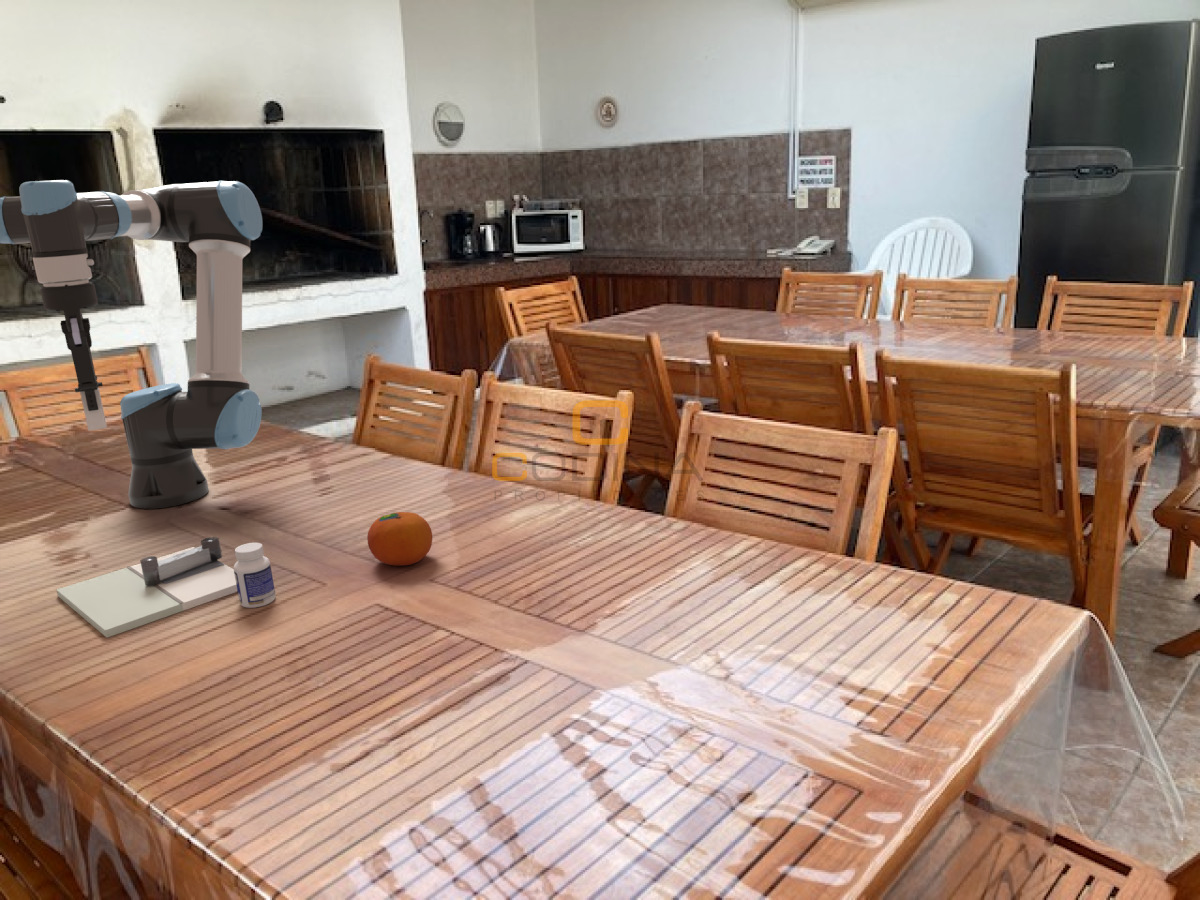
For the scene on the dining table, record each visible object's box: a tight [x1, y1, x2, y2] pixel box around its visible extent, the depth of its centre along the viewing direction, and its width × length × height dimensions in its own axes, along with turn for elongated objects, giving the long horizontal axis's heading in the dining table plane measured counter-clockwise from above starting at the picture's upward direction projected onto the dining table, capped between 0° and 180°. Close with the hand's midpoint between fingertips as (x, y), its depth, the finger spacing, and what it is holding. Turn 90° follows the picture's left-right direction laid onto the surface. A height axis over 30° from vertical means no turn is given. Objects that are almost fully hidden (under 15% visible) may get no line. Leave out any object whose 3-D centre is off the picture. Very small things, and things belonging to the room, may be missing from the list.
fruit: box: [366, 511, 433, 567], centre depth 155 cm, size 11×10×8 cm
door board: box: [56, 546, 238, 638], centre depth 149 cm, size 22×22×1 cm
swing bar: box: [140, 536, 223, 586], centre depth 152 cm, size 13×3×4 cm, turn 143°
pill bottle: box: [233, 542, 277, 609], centre depth 142 cm, size 5×5×9 cm
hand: (97, 428), depth 153 cm, fingers closed
